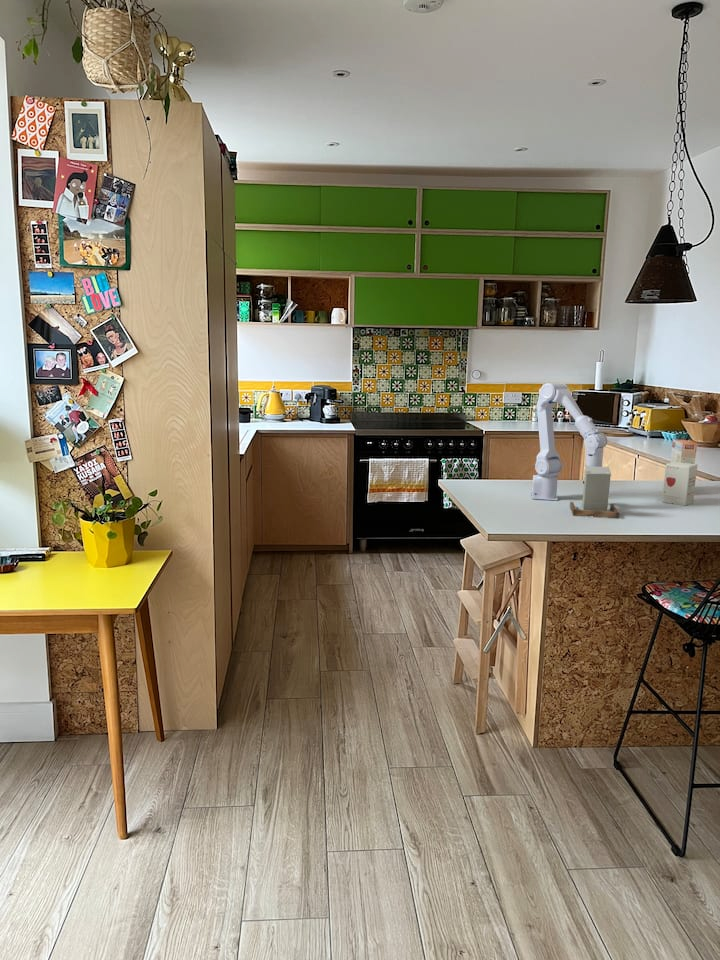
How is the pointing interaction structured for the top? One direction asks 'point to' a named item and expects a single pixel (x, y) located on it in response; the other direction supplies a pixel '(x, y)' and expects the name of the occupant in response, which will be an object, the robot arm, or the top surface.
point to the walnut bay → (595, 512)
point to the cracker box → (683, 451)
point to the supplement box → (679, 483)
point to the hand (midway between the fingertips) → (590, 502)
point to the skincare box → (596, 488)
